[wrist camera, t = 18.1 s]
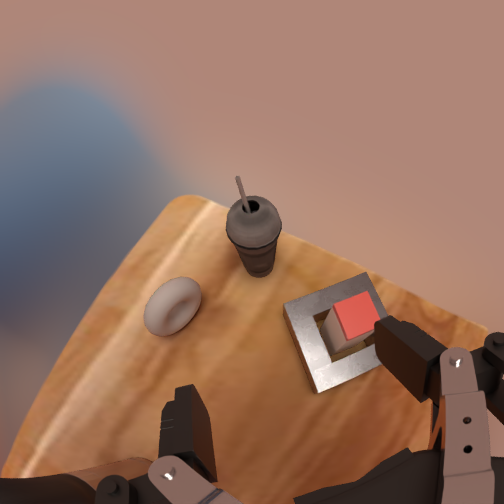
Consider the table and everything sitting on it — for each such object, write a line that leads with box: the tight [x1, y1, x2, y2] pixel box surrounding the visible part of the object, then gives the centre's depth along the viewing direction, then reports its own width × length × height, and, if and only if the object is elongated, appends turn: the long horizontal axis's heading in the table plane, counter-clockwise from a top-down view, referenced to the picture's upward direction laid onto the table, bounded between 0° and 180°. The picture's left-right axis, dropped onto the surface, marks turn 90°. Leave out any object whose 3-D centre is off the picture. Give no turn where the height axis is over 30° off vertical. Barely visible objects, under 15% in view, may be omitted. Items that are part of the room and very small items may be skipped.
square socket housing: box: [283, 272, 388, 393], centre depth 38 cm, size 13×13×5 cm
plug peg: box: [320, 291, 380, 356], centre depth 35 cm, size 4×4×12 cm
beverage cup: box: [226, 176, 282, 277], centre depth 39 cm, size 7×7×20 cm
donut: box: [144, 277, 202, 336], centre depth 40 cm, size 10×4×10 cm, turn 139°
